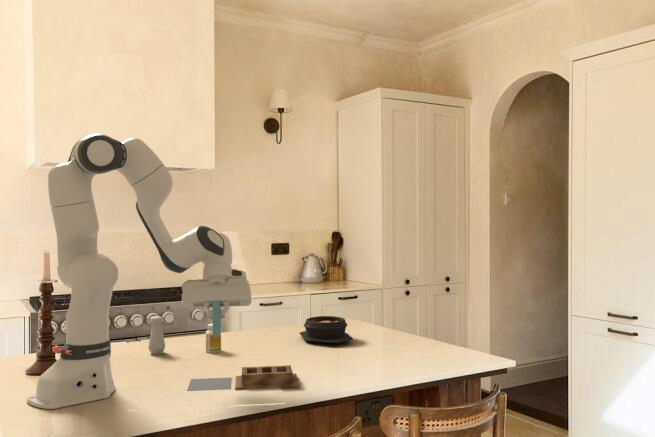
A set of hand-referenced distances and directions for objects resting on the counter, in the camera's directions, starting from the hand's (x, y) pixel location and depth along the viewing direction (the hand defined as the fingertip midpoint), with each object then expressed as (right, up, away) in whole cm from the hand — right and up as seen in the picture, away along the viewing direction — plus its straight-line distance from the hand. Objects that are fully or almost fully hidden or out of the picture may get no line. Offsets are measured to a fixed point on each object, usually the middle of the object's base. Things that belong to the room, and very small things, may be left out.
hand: (216, 317), depth 175 cm
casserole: (+31, -19, +60) cm, 70 cm away
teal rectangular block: (0, -6, +1) cm, 6 cm away
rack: (+14, -20, +2) cm, 24 cm away
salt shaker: (-29, -20, +41) cm, 54 cm away
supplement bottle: (-9, -19, +43) cm, 48 cm away
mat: (-2, -20, +1) cm, 20 cm away
